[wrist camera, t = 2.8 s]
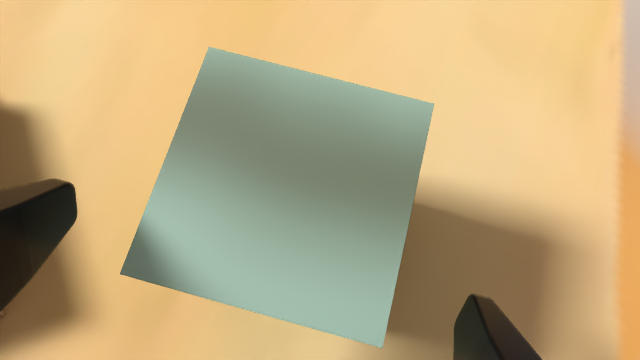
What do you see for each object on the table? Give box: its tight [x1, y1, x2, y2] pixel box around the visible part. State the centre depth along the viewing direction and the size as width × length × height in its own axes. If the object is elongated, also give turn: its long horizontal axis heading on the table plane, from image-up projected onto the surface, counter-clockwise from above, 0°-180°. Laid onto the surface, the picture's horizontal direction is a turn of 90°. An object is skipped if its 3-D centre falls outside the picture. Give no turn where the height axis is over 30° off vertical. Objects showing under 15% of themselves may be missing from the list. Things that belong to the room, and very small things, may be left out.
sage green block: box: [120, 47, 434, 348], centre depth 14 cm, size 6×6×9 cm
